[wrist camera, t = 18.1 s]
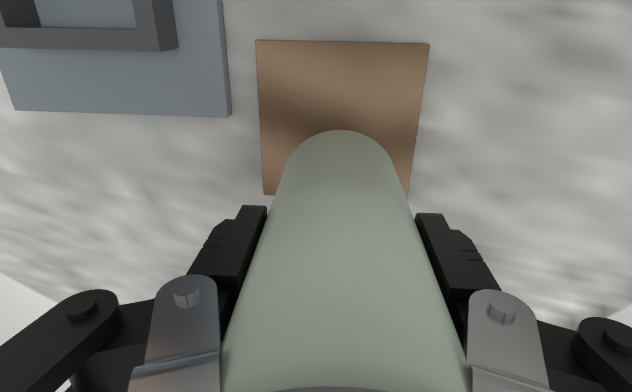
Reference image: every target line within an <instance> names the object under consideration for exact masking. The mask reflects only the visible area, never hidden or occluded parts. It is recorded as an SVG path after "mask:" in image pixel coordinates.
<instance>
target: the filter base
mask: <svg viewBox="0 0 632 392" xmlns="http://www.w3.org/2000/svg"><path fill="white" fill-rule="evenodd" d="M0 70H1V73H2V76H3V78H4V81H5V84H6V87H7V89H8V92H9V95H10V98H11V100H12V103H13V106H14V109H15V110H21V111H52V112H82V113H113V114H143V115H174V116H204V117H229V116H230V115H231V114H232V109H231V98H230V86H229V75H228V64H227V53H226V41H225V30H224V19H223V8H222V0H0Z"/></svg>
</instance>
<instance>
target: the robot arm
mask: <svg viewBox="0 0 632 392" xmlns="http://www.w3.org/2000/svg"><path fill="white" fill-rule="evenodd" d="M266 219H267V208H266V206H256V205H242V207H241V209H240V211H239V213H238V215H237V217H236V218H235V220H232V219H225V220H224V221H222V222H221V223H220V224H218V225H217V226H215V227H214V228H213V230H212V232H211V233H210V235H209V237H208V239H207V240H206V242H205V243H204V245H203V248H202V249H201V250H200V252H199V254H198V255H197V257H196V259H195V260H194V262H193V264H192V265H191V267H190V269H189V270H188V272H187V274H186V275H185V276H181V277H178V278H175V279H173V280H171V281H169V282H168V283H166V284H165V285H164V286H162V287H161V288H160V290H159V291H158V292H157V294H156V297H155V298H154V299H151V300H146V301H141V302H135V303H129V304H124V305H119V302H118V299H117V296H116V295H115V294H114V293H113V292H111V291H108V290H103V289H95V290H88V291H84V292H80V293H78V294H75V295H73V296H70V297H68V298H66V299H65V300H63V301H61V302H60V303H58V304H57V305H56V306H55V307H53V308H52V309H50V310H49V311H48V312H46V313H45V314H44V315H42V316H41V317H39V318H38V319H37V320H35V321H34V322H33V323H31V324H30V325H28V326H27V327H26V328H24V329H23V330H22V331H20V332H19V333H18V334H16V335H15V336H14V337H12V338H11V339H9V340H8V341H7V342H5V343H4V344H3V345H1V346H0V392H55V391H56V390H57V389H58V388H59V387H60V386H61V385H62V384H63V383H64V382H65V381H66V380H67V379H69V380H70V383H71V386H70V387H69V388H68V389H67V390H66V391H65V392H221V374H220V366H221V344H222V341H223V339H224V336H225V333H226V330H227V327H228V325H229V322H230V319H231V316H232V314H233V311H234V308H235V305H236V302H237V300H238V297H239V294H240V291H241V289H242V286H243V283H244V280H245V277H246V275H247V272H248V269H249V266H250V264H251V261H252V258H253V255H254V252H255V250H256V247H257V244H258V241H259V239H260V236H261V233H262V230H263V227H264V225H265V222H266ZM414 221H415V223H416V226H417V229H418V231H419V234H420V237H421V239H422V242H423V245H424V247H425V250H426V253H427V255H428V258H429V261H430V263H431V266H432V269H433V271H434V274H435V277H436V279H437V282H438V284H439V287H440V290H441V292H442V295H443V298H444V300H445V303H446V306H447V308H448V311H449V314H450V316H451V319H452V322H453V324H454V327H455V330H456V332H457V335H458V338H459V340H460V343H461V345H462V348H463V351H464V354H465V357H466V360H467V366H468V372H469V380H470V391H471V392H632V328H631V327H629V326H627V325H625V324H622V323H620V322H617V321H614V320H611V319H607V318H602V317H589V318H586V319H584V320H582V321H581V322H580V324H579V326H578V328H577V330H576V331H573V330H570V329H566V328H563V327H559V326H555V325H552V324H548V323H545V322H542V321H539V320H536V317H535V315H534V313H533V311H532V310H531V309H530V307H529V306H527V305H526V304H525V303H524V302H523V301H521V300H520V299H518V298H517V297H515V296H513V295H511V294H508V293H506V292H502V290H501V288H500V287H499V285H498V283H497V282H496V280H495V278H494V277H493V275H492V273H491V272H490V270H489V268H488V267H487V265H486V263H485V262H483V258H482V257H481V255H480V253H478V250H477V249H476V247H475V245H474V244H473V242H472V240H471V239H470V238H469V237H467V236H466V235H465V234H463V233H462V232H461V231H459V230H451V229H450V228H449V226H448V224H447V222H446V220H445V218H444V216H443V215H442V214H437V213H417V214H416V216H415V220H414Z"/></svg>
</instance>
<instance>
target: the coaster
mask: <svg viewBox="0 0 632 392" xmlns="http://www.w3.org/2000/svg"><path fill="white" fill-rule="evenodd" d="M255 42H256V60H257V79H258V97H259V116H260V135H261V153H262V172H263V190H264V195H275V194H276V191H277V189H278V186H279V183H280V180H281V177H282V175H283V172H284V169H285V166H286V164H287V161H288V159H289V157H290V156H291V154H292V153H293V152H294V150H295V149H296V148H297V147H298V146H299V145H300V144H302V143H303V142H304V141H305V140H307V139H309V138H310V137H312V136H314V135H317V134H319V133H322V132H326V131H332V130H348V131H354V132H358V133H360V134H363V135H366V136H367V137H369V138H371V139H373V140H374V141H376V142H377V143H378V144H379V145H380V146H381V147H382V148H383V149H384V150H385V151H386V152H387V154H388V155H389V157H390V159H391V160H392V163H393V165H394V168H395V170H396V173H397V176H398V178H399V181H400V184H401V186H402V189H403V192H404V194H405V197H406V200H407V194H408V188H409V181H410V174H411V168H412V161H413V155H414V148H415V141H416V135H417V128H418V121H419V115H420V108H421V101H422V95H423V88H424V81H425V75H426V68H427V62H428V55H429V48H430V44H423V43H380V42H338V41H295V40H255Z"/></svg>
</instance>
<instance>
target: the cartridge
mask: <svg viewBox="0 0 632 392" xmlns="http://www.w3.org/2000/svg"><path fill="white" fill-rule="evenodd" d="M220 374H221V392H471V391H470V380H469V372H468V366H467V360H466V357H465V354H464V351H463V348H462V345H461V343H460V340H459V338H458V335H457V332H456V330H455V327H454V324H453V322H452V319H451V316H450V314H449V311H448V308H447V306H446V303H445V300H444V298H443V295H442V292H441V290H440V287H439V284H438V282H437V279H436V277H435V274H434V271H433V269H432V266H431V263H430V261H429V258H428V255H427V253H426V250H425V247H424V245H423V242H422V239H421V237H420V234H419V231H418V229H417V226H416V223H415V221H414V218H413V216H412V213H411V210H410V208H409V205H408V202H407V200H406V197H405V194H404V192H403V189H402V186H401V184H400V181H399V178H398V176H397V173H396V170H395V168H394V165H393V163H392V160H391V159H390V157H389V155H388V154H387V152H386V151H385V150H384V149H383V148H382V147H381V146H380V145H379V144H378V143H377V142H376V141H374V140H373V139H371V138H369V137H367V136H366V135H363V134H360V133H358V132H354V131H348V130H332V131H326V132H322V133H319V134H317V135H314V136H312V137H310V138H309V139H307V140H305V141H304V142H303V143H302V144H300V145H299V146H298V147H297V148H296V149H295V150H294V152H293V153H292V154H291V156H290V157H289V159H288V161H287V164H286V166H285V169H284V172H283V175H282V177H281V180H280V183H279V186H278V189H277V191H276V194H275V197H274V200H273V202H272V205H271V208H270V211H269V214H268V216H267V219H266V222H265V225H264V227H263V230H262V233H261V236H260V239H259V241H258V244H257V247H256V250H255V252H254V255H253V258H252V261H251V264H250V266H249V269H248V272H247V275H246V277H245V280H244V283H243V286H242V289H241V291H240V294H239V297H238V300H237V302H236V305H235V308H234V311H233V314H232V316H231V319H230V322H229V325H228V327H227V330H226V333H225V336H224V339H223V341H222V344H221V366H220Z"/></svg>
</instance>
